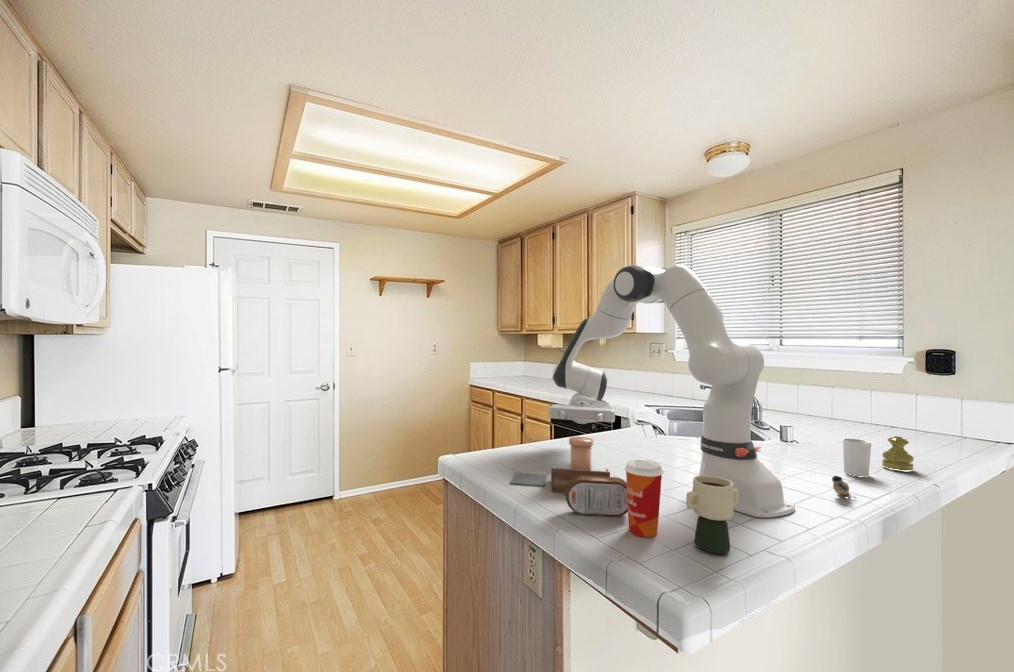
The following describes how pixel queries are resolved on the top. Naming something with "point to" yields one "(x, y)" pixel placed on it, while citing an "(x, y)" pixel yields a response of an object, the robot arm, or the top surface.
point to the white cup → (856, 456)
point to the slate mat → (529, 479)
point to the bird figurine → (841, 487)
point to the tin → (597, 496)
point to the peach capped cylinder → (580, 453)
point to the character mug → (712, 511)
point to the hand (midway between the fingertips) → (581, 417)
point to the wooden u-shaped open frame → (570, 477)
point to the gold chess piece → (897, 455)
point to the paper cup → (643, 496)
